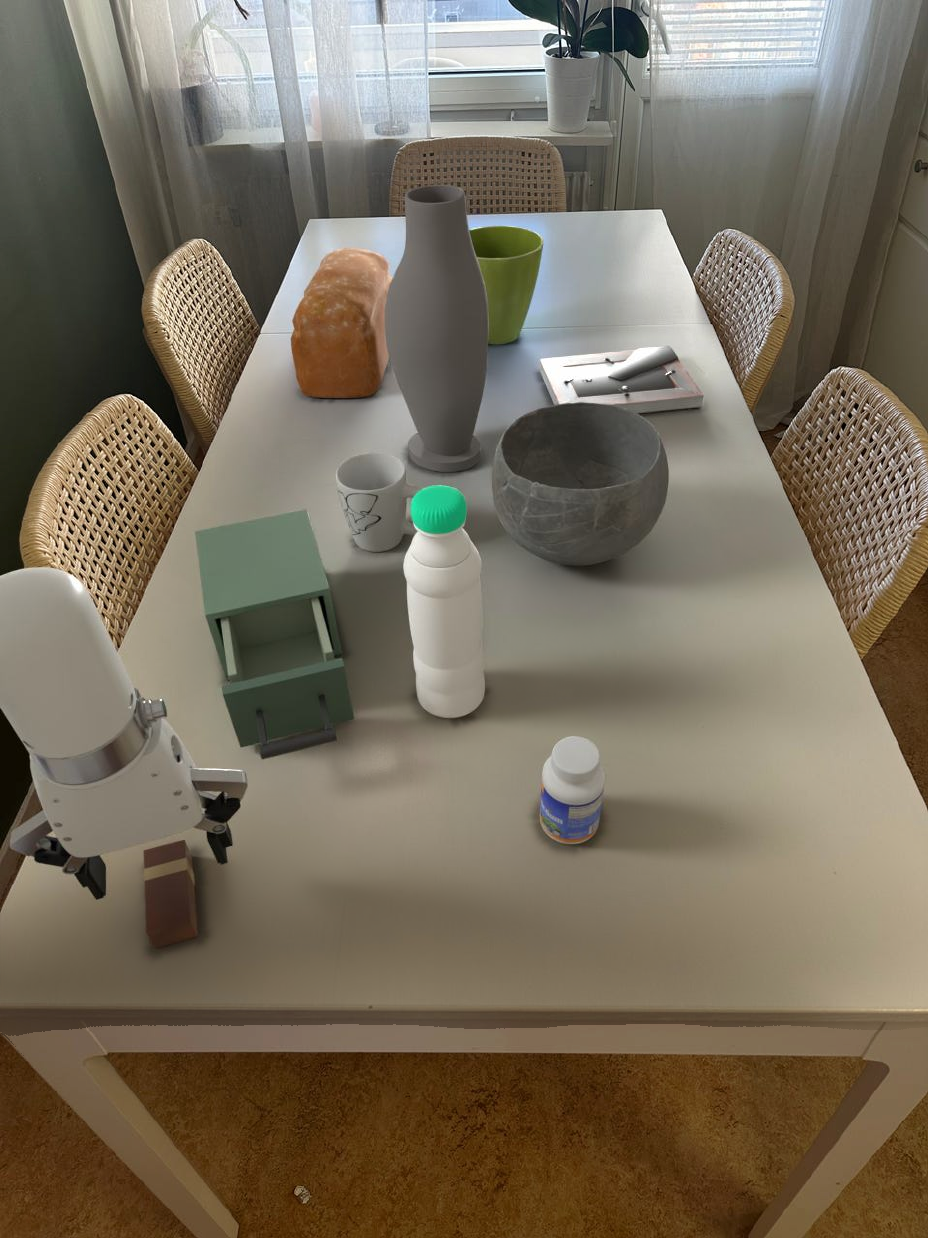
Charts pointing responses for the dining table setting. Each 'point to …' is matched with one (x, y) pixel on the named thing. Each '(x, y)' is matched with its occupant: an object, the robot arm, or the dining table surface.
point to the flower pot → (507, 276)
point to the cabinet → (261, 571)
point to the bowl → (579, 481)
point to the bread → (342, 326)
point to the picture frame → (623, 380)
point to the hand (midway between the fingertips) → (162, 866)
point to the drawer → (283, 678)
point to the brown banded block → (169, 894)
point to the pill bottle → (572, 791)
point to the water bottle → (445, 604)
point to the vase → (439, 329)
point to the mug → (375, 499)
